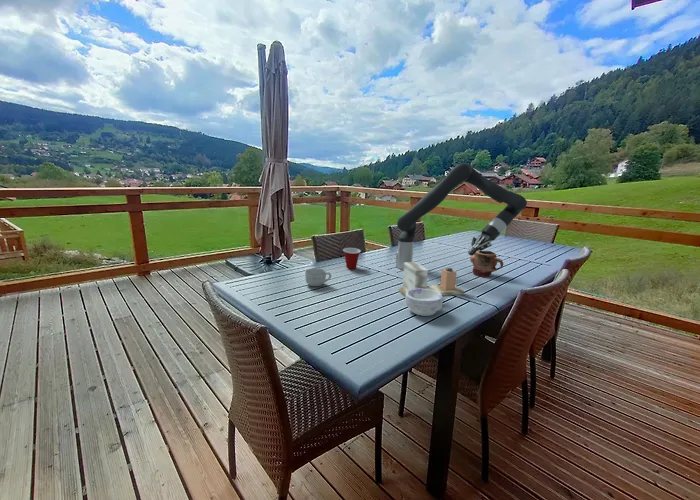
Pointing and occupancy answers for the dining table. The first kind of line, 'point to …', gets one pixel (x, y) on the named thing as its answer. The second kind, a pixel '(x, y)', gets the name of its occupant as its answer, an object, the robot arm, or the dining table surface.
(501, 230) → the robot arm
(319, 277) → the teacup
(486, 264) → the brown ceramic mug
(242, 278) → the dining table surface
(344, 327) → the dining table surface
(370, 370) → the dining table surface
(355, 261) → the plastic cup
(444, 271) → the tan small carton
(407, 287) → the press housing
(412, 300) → the white bowl
